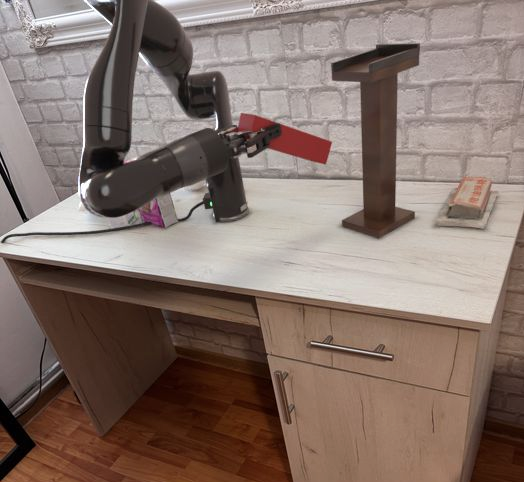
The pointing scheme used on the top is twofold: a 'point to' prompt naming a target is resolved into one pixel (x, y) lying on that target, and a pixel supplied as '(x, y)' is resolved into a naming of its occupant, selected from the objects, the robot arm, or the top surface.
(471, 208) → the packaged product
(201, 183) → the decorative ball
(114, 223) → the syrup box
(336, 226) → the top surface
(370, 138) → the wooden lectern
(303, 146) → the long red slab
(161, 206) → the candy bar box
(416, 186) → the top surface
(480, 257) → the top surface
